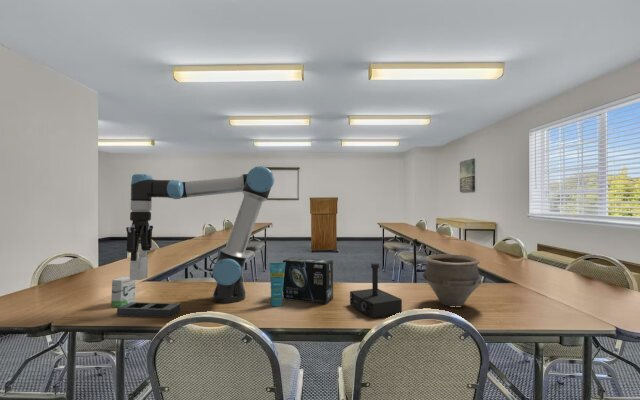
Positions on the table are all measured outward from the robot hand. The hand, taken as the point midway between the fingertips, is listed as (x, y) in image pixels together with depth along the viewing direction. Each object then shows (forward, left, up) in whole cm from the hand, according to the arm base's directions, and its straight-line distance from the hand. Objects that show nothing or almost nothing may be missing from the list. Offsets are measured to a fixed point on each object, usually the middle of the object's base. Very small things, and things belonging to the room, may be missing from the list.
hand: (139, 267), depth 122 cm
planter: (-135, -22, -19) cm, 138 cm away
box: (-68, -26, -19) cm, 75 cm away
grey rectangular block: (0, 0, -5) cm, 5 cm away
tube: (-55, -15, -19) cm, 60 cm away
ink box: (+14, -10, -19) cm, 26 cm away
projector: (-98, -13, -19) cm, 101 cm away
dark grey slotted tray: (-5, 0, -19) cm, 19 cm away
